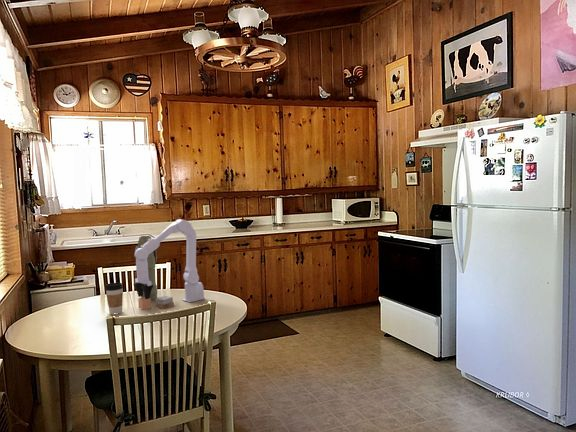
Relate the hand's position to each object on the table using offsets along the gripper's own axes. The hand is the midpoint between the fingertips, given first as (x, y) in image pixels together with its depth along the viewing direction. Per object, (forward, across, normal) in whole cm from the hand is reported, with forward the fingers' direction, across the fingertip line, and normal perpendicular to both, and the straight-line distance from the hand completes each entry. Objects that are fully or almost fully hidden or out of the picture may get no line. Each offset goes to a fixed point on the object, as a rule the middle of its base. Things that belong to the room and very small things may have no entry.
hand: (144, 297), depth 237 cm
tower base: (+6, +6, +8) cm, 12 cm away
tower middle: (+3, +6, +8) cm, 11 cm away
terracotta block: (+5, 0, 0) cm, 5 cm away
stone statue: (+6, -15, +10) cm, 19 cm away
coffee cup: (+6, -3, -14) cm, 15 cm away
